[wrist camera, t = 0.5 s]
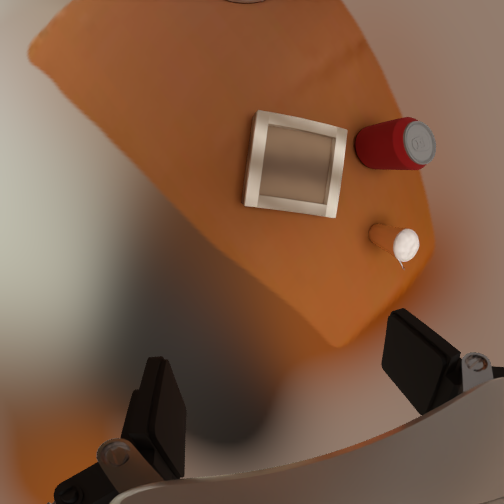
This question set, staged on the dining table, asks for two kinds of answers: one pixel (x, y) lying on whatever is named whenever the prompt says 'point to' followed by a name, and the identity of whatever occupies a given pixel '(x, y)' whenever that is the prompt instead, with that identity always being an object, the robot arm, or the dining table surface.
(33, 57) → the dining table surface
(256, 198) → the white square tray
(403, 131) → the beverage can
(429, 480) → the robot arm
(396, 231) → the milkshake
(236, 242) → the dining table surface
